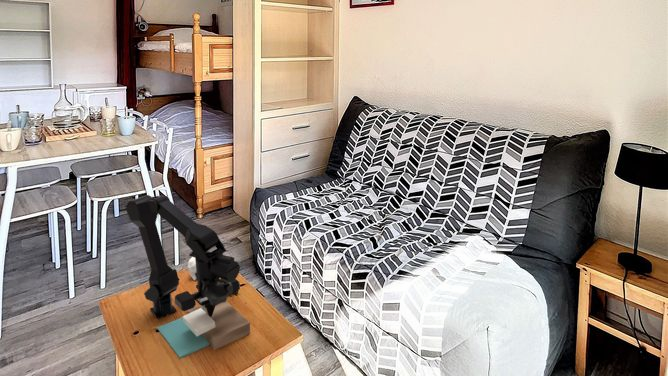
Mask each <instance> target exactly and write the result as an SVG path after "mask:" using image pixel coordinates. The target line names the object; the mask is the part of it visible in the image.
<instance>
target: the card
mask: <svg viewBox="0 0 668 376" xmlns="http://www.w3.org/2000/svg"><path fill="white" fill-rule="evenodd" d="M182 317H183V321H184V323H185V324H186V325H187V326H188V327H189V328H190V330H191V331H192V332H193V333H194V334H195V335H196V336H199V335H201V334H203V333H205V332H207V331H209V330H211V329H213V328H215V327H216V326H215V321H214V320H213V319H212V318H211V317H210V316H209V315H208V314H207V313H206V312H205V311H204V310H203V309H202V308H200V309H198V310H195V311H193V312H191V313H189V314H185V315H183V316H182Z"/></svg>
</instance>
